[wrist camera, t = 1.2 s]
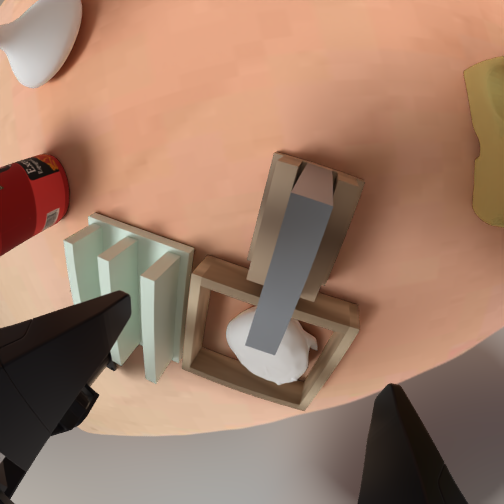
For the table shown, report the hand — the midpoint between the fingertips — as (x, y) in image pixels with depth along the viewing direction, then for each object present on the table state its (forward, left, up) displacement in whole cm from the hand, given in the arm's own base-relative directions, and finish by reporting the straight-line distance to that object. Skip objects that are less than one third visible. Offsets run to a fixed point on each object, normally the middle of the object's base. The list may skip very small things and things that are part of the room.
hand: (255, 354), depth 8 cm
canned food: (-4, +26, -13) cm, 29 cm away
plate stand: (0, 0, -13) cm, 13 cm away
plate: (0, 0, -12) cm, 12 cm away
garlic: (-11, -1, -13) cm, 17 cm away
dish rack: (-12, +13, -13) cm, 22 cm away
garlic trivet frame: (-11, 0, -13) cm, 17 cm away
